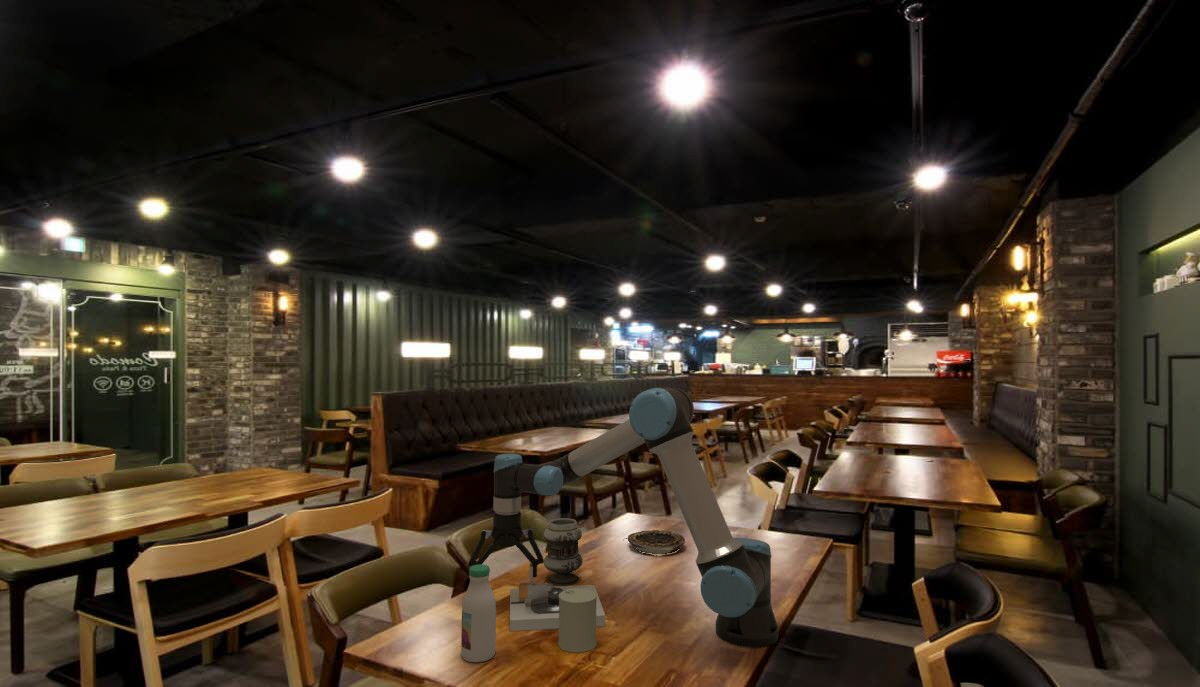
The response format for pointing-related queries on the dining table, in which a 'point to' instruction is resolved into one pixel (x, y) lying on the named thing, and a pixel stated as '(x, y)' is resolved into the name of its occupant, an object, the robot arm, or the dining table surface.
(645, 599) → the dining table surface
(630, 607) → the dining table surface
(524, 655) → the dining table surface
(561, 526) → the apothecary jar
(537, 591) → the dial
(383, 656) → the dining table surface
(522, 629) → the panel
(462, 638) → the milk bottle
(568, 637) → the can
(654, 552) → the pie
